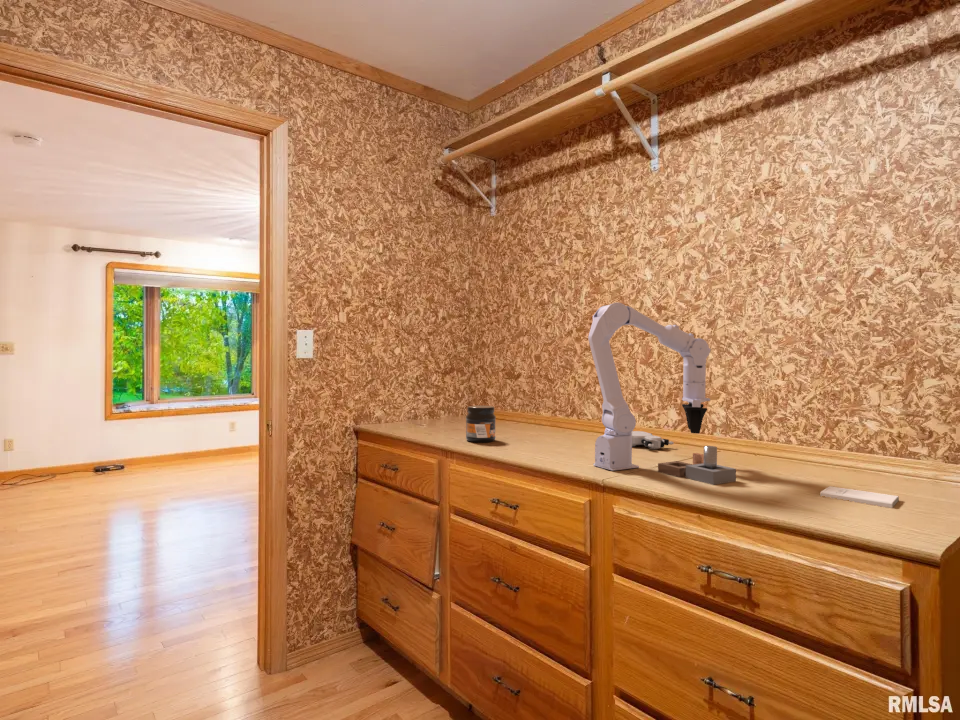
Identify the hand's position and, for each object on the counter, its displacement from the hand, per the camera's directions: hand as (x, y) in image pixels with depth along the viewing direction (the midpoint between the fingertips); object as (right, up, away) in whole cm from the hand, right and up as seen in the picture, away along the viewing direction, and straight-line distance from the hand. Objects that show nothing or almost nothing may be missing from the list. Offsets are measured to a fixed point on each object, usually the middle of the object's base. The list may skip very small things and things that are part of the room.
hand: (693, 431), depth 146 cm
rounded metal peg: (-3, -10, -17) cm, 19 cm away
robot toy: (-4, -10, +30) cm, 31 cm away
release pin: (-3, -9, -7) cm, 12 cm away
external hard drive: (+22, -11, -33) cm, 41 cm away
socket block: (-8, -9, -10) cm, 16 cm away
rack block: (-3, -10, -17) cm, 19 cm away
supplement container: (-59, -9, +41) cm, 72 cm away
